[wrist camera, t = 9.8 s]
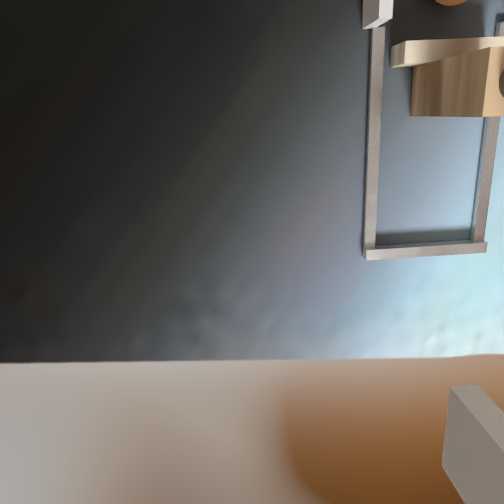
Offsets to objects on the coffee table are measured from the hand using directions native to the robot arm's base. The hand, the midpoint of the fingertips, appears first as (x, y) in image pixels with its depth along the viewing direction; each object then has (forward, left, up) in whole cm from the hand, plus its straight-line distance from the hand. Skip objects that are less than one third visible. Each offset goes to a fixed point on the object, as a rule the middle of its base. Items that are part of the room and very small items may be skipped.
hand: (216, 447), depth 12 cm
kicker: (+19, +10, -29) cm, 36 cm away
